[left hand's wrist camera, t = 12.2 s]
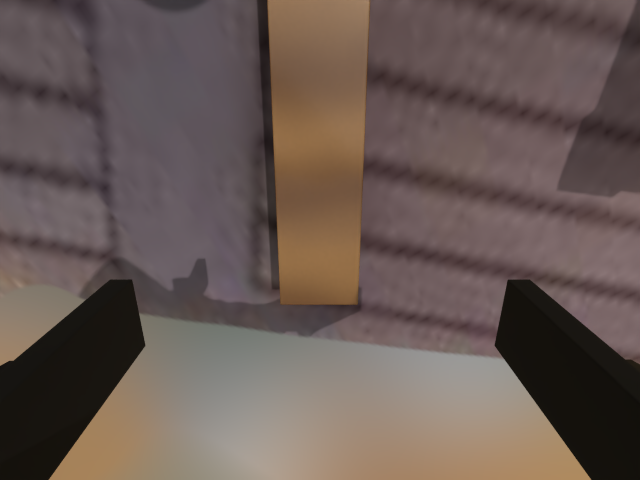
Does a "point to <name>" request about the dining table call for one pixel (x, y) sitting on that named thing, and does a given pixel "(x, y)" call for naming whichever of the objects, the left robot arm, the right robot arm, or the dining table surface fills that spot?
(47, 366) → the left robot arm
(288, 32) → the post
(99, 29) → the dining table surface
